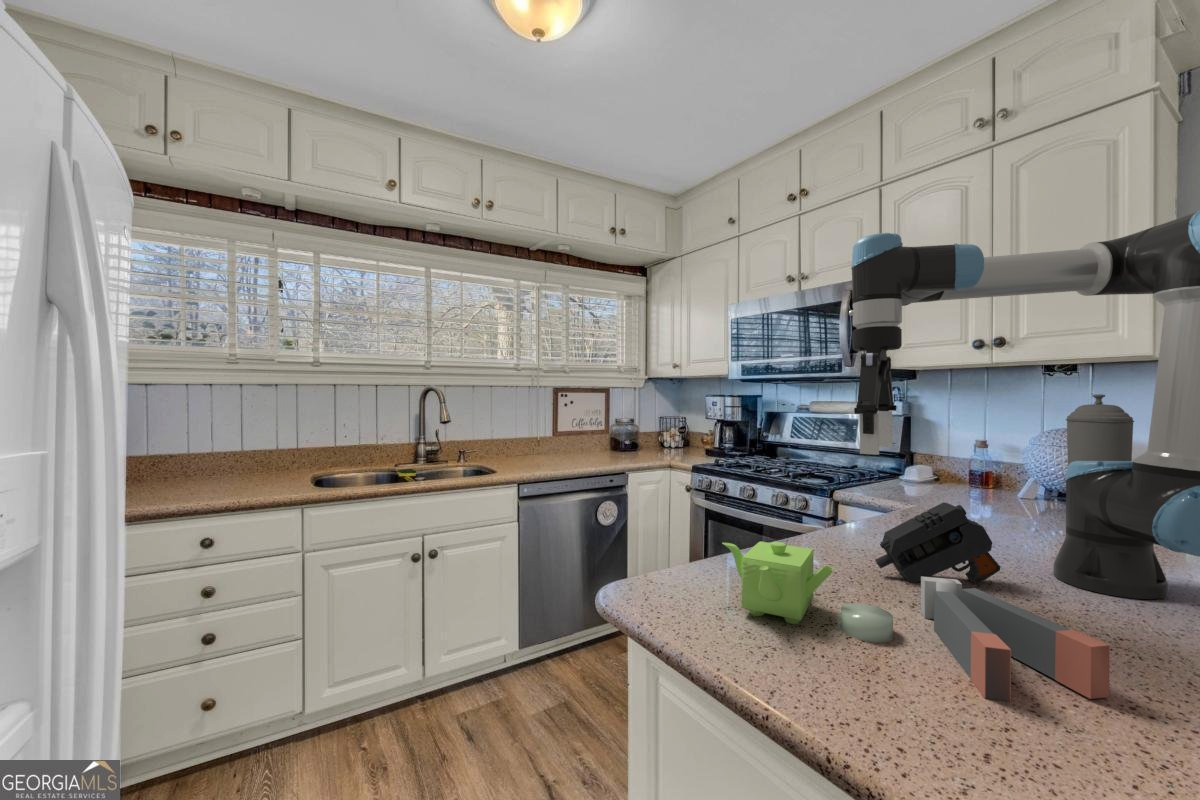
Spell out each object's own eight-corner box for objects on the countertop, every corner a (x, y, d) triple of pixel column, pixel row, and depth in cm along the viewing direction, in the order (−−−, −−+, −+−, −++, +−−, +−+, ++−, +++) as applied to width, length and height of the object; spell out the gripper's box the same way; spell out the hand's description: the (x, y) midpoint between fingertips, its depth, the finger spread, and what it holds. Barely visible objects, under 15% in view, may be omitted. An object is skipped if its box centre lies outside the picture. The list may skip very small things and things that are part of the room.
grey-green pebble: (886, 625, 80) (886, 606, 80) (898, 646, 74) (898, 625, 74) (837, 619, 82) (837, 601, 82) (844, 640, 76) (845, 619, 75)
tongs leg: (960, 628, 78) (960, 588, 78) (975, 627, 78) (975, 587, 78) (1090, 699, 60) (1090, 646, 60) (1109, 696, 60) (1109, 645, 60)
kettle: (762, 636, 76) (761, 560, 76) (716, 599, 90) (716, 535, 90) (847, 623, 80) (847, 552, 80) (791, 590, 94) (790, 529, 94)
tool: (1014, 574, 94) (968, 501, 95) (912, 619, 97) (870, 547, 98) (995, 563, 100) (953, 494, 101) (900, 605, 103) (860, 538, 104)
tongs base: (920, 613, 84) (920, 572, 84) (957, 616, 83) (957, 575, 83) (984, 698, 61) (984, 642, 61) (1037, 705, 59) (1037, 648, 59)
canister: (1140, 539, 124) (1142, 394, 124) (1070, 532, 131) (1071, 394, 131) (1124, 528, 135) (1126, 394, 135) (1060, 521, 142) (1061, 394, 142)
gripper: (866, 334, 101) (866, 442, 102) (835, 321, 82) (836, 456, 82) (910, 331, 97) (910, 444, 97) (889, 317, 77) (890, 459, 77)
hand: (876, 450), depth 90 cm, fingers open, 13 cm apart
